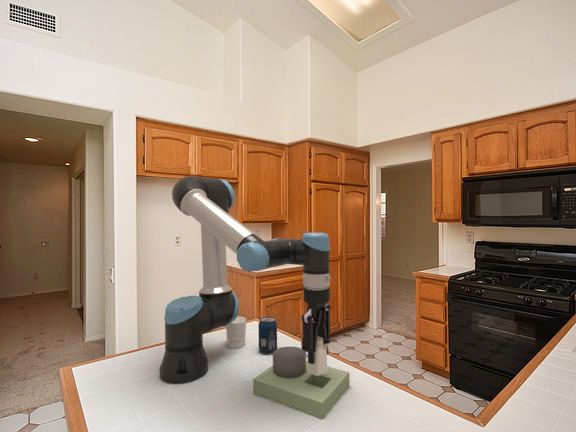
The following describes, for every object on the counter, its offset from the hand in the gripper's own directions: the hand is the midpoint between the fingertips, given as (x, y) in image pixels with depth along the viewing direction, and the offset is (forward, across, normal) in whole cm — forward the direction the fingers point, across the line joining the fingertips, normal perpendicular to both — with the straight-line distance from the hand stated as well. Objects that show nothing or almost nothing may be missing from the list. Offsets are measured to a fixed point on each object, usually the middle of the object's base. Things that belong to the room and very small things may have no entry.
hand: (317, 369), depth 89 cm
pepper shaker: (+1, 0, 0) cm, 1 cm away
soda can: (+7, +16, +29) cm, 34 cm away
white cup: (+7, +14, +43) cm, 46 cm away
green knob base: (+7, 0, +5) cm, 9 cm away
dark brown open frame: (+7, +25, +14) cm, 30 cm away
